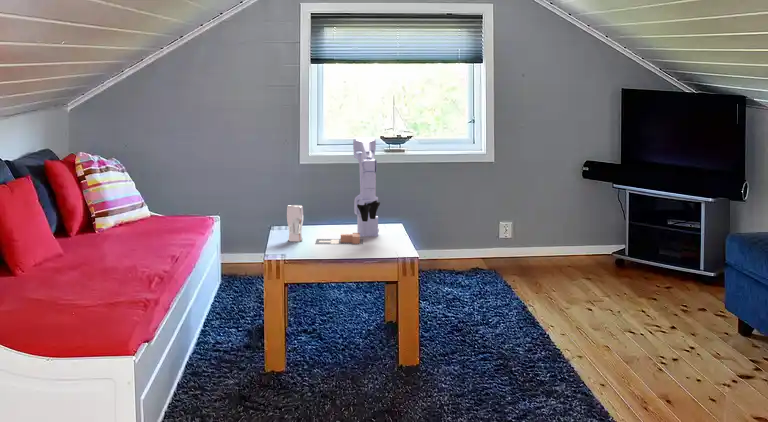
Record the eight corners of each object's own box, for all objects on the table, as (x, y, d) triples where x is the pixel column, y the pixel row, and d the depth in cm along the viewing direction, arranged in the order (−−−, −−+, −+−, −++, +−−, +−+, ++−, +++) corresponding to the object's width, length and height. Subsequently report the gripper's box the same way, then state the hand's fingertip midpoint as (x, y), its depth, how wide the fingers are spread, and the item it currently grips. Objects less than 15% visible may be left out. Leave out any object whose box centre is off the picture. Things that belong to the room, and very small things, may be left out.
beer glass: (290, 242, 314) (290, 207, 312) (284, 239, 320) (284, 205, 318) (305, 241, 317) (305, 206, 315) (300, 238, 324) (299, 204, 321)
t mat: (363, 239, 322) (363, 239, 322) (363, 245, 310) (363, 244, 310) (316, 239, 321) (316, 238, 321) (314, 245, 309) (314, 244, 309)
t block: (359, 239, 320) (359, 232, 320) (359, 243, 311) (359, 236, 311) (341, 239, 320) (341, 232, 319) (340, 243, 311) (340, 236, 311)
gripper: (367, 185, 322) (367, 217, 323) (352, 189, 308) (352, 221, 310) (382, 186, 319) (382, 218, 321) (368, 190, 306) (367, 223, 308)
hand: (368, 220), depth 315 cm, fingers open, 7 cm apart
